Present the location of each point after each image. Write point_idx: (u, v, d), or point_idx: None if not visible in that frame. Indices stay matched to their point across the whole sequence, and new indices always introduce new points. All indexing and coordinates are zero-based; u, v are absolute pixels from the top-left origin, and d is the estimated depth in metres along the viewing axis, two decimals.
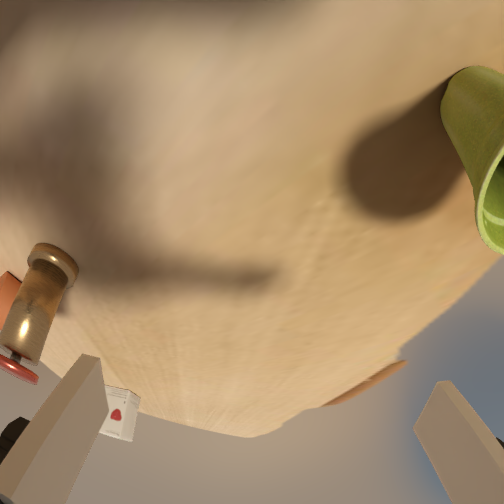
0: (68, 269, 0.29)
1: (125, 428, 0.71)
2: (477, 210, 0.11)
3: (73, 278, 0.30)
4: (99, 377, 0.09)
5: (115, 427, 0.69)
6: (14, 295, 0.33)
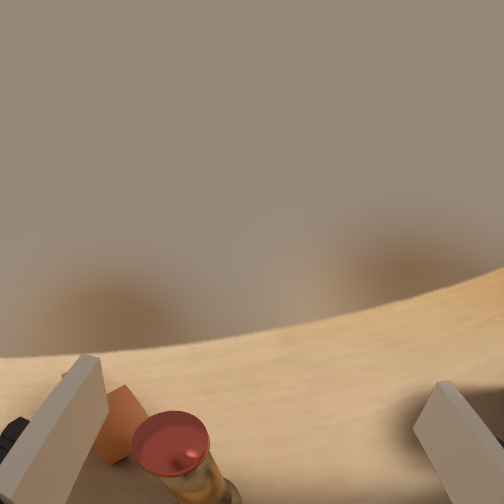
0: None
1: None
2: None
3: None
4: (99, 377, 0.09)
5: None
6: None
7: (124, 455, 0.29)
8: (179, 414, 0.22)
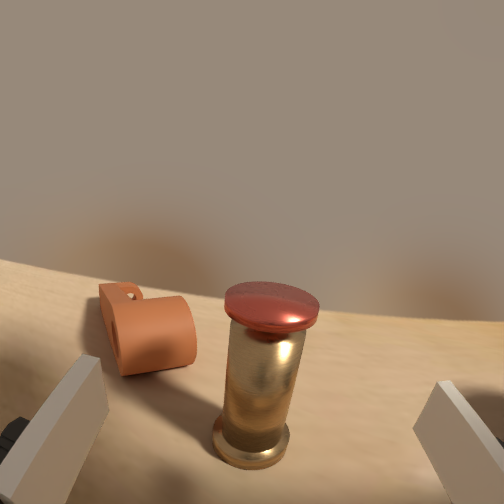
0: (265, 459, 0.20)
1: None
2: None
3: (244, 459, 0.20)
4: (99, 377, 0.09)
5: None
6: (176, 356, 0.30)
7: (146, 367, 0.29)
8: (283, 286, 0.22)
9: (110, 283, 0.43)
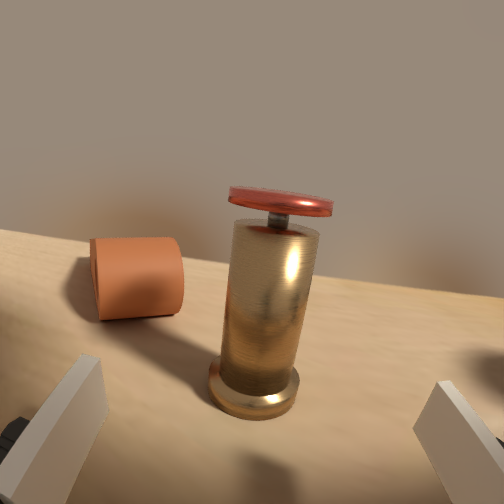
0: (271, 404, 0.18)
1: None
2: None
3: (246, 403, 0.18)
4: (99, 377, 0.09)
5: None
6: (160, 297, 0.28)
7: (126, 308, 0.26)
8: (292, 192, 0.20)
9: None
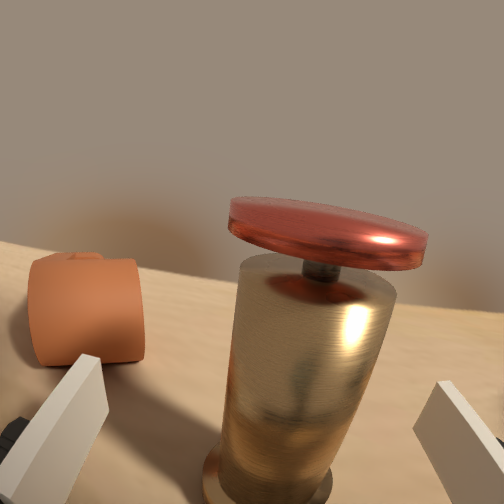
0: None
1: None
2: None
3: None
4: (99, 377, 0.09)
5: None
6: (112, 344, 0.19)
7: (69, 356, 0.17)
8: (339, 208, 0.12)
9: None
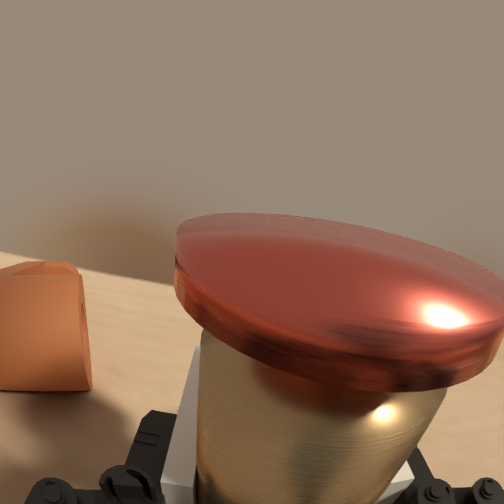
0: None
1: None
2: None
3: None
4: None
5: None
6: (51, 374, 0.14)
7: (10, 383, 0.13)
8: (358, 228, 0.08)
9: (40, 261, 0.29)
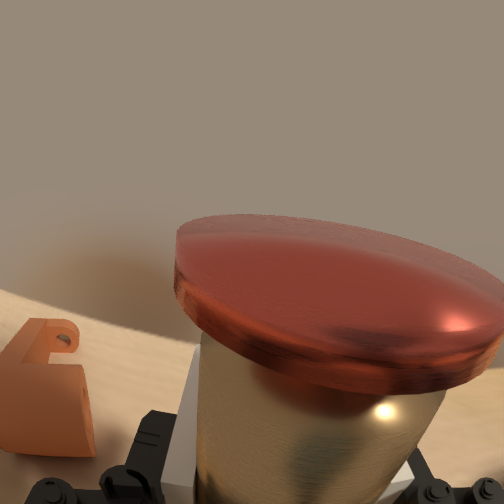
0: None
1: None
2: None
3: None
4: None
5: None
6: (62, 450, 0.16)
7: (29, 452, 0.15)
8: (357, 229, 0.08)
9: (42, 319, 0.31)
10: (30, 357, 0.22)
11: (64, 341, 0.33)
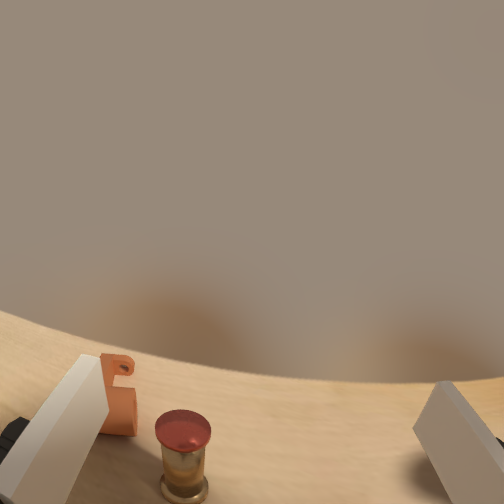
0: (189, 502, 0.29)
1: None
2: None
3: (176, 501, 0.29)
4: (99, 377, 0.09)
5: None
6: (119, 431, 0.37)
7: (100, 431, 0.37)
8: (194, 414, 0.31)
9: (110, 354, 0.54)
10: (104, 381, 0.44)
11: (124, 368, 0.56)
